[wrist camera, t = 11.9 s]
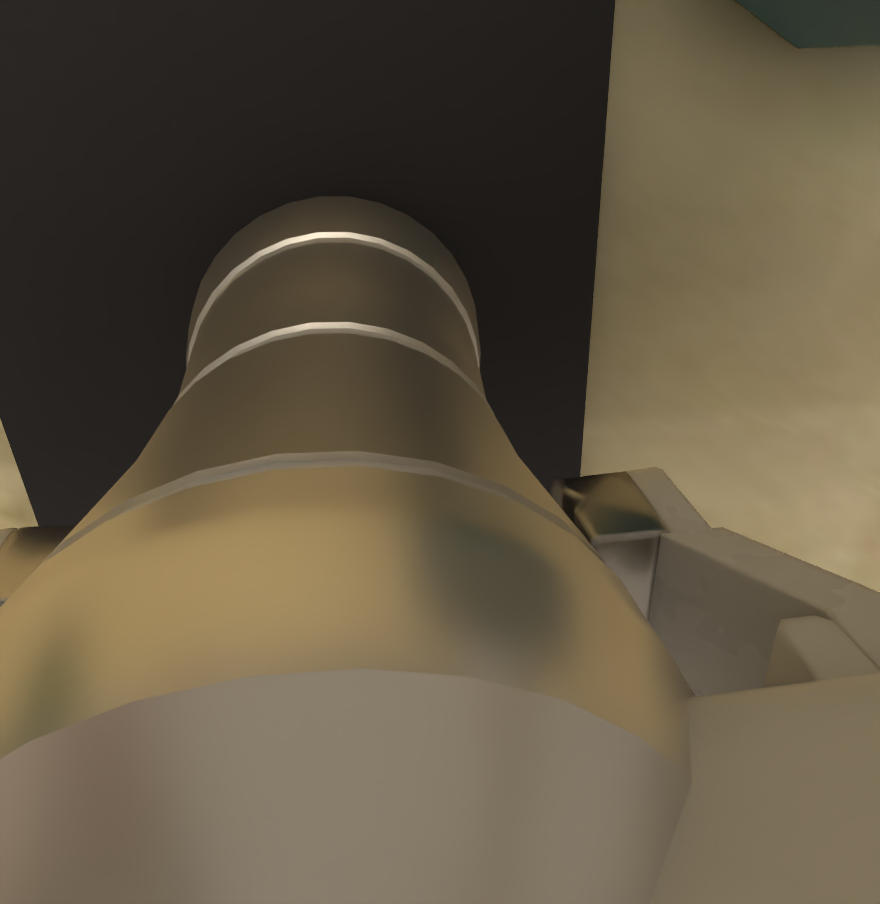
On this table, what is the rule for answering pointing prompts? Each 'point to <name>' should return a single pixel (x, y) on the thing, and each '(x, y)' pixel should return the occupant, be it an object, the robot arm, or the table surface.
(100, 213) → the mat
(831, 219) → the table surface
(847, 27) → the bucket
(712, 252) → the table surface
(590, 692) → the plastic bottle
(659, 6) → the table surface
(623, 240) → the table surface
